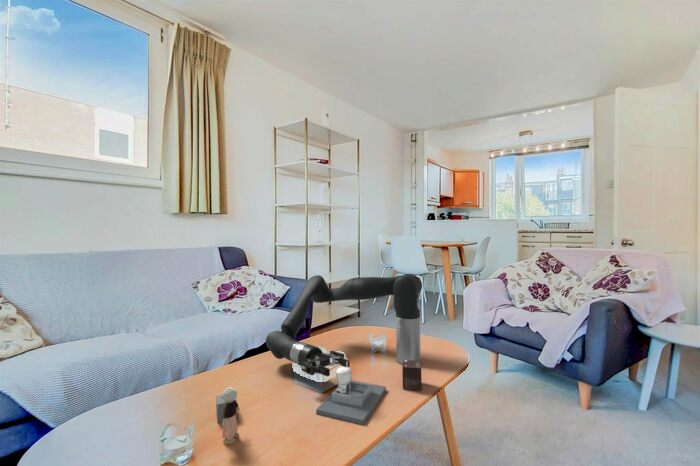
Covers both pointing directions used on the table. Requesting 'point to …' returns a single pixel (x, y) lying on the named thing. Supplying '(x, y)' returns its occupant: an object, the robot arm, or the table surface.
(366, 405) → the dock
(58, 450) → the table surface
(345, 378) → the milkshake
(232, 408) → the grandmother figurine
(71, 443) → the table surface
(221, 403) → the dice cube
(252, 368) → the table surface
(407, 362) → the box
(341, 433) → the table surface
